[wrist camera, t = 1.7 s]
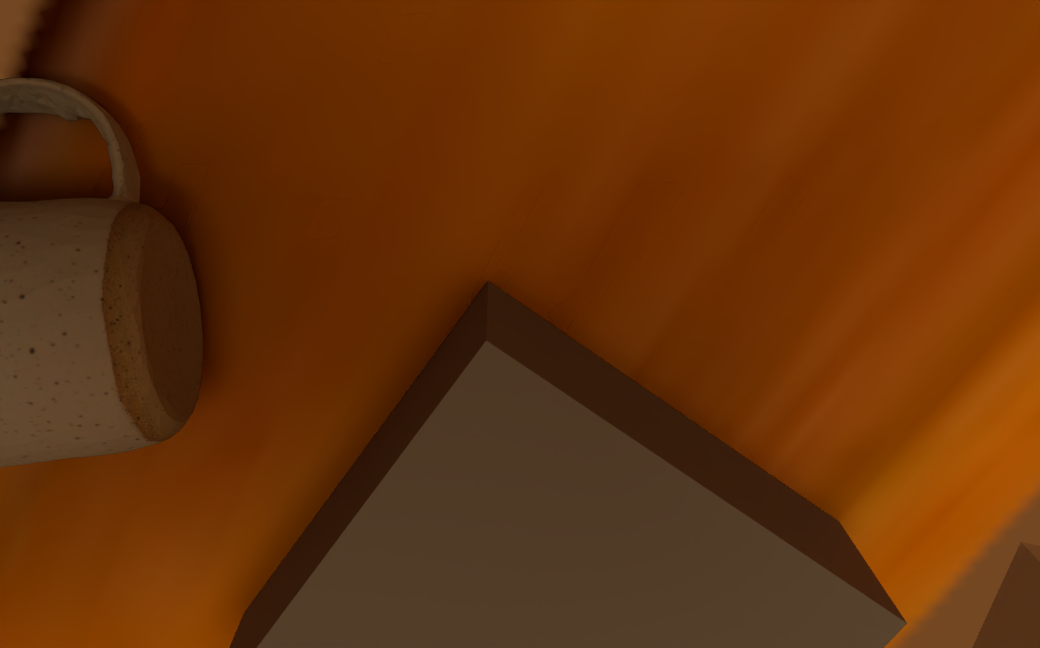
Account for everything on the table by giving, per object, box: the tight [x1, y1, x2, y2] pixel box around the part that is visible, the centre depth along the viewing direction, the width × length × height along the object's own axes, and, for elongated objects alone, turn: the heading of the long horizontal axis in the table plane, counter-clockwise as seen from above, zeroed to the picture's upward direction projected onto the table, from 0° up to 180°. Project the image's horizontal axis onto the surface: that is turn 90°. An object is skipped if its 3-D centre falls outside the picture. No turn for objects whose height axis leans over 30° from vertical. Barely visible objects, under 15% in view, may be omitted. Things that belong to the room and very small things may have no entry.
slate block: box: [230, 281, 907, 648], centre depth 32 cm, size 15×15×6 cm
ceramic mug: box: [0, 78, 203, 467], centre depth 28 cm, size 11×8×8 cm
